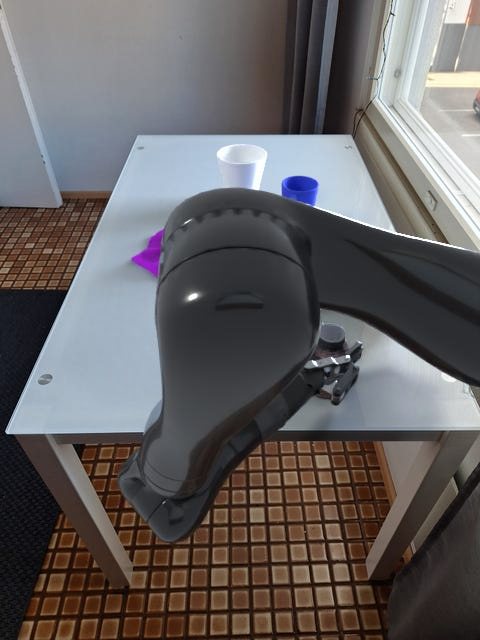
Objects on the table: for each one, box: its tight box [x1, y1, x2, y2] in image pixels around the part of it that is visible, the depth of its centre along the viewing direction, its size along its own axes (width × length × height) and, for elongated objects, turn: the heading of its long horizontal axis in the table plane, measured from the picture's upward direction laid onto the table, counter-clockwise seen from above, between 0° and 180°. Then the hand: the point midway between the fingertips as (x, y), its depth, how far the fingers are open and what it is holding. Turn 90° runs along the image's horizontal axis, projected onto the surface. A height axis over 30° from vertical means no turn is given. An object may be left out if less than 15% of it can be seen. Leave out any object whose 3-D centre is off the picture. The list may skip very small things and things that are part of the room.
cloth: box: [130, 228, 164, 278], centre depth 99 cm, size 22×19×6 cm
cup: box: [216, 143, 268, 190], centre depth 115 cm, size 12×12×12 cm
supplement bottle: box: [313, 322, 351, 399], centre depth 70 cm, size 6×6×11 cm
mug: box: [281, 175, 320, 207], centre depth 106 cm, size 8×12×10 cm
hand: (338, 335), depth 69 cm, fingers open, 6 cm apart
